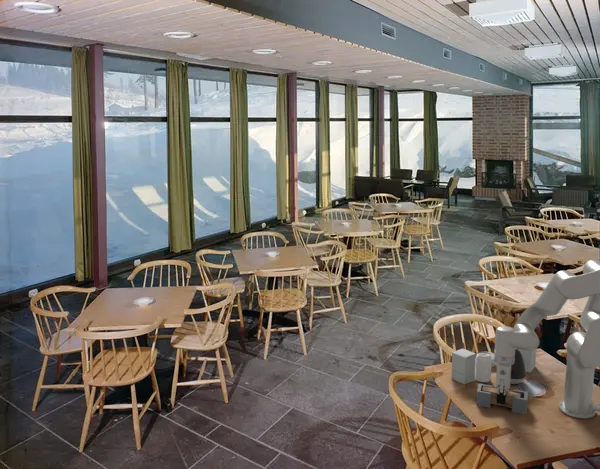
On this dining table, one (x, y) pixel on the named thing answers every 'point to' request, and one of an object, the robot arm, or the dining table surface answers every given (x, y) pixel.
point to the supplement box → (463, 366)
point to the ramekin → (492, 359)
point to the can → (483, 367)
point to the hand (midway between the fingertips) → (501, 400)
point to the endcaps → (517, 405)
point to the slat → (508, 394)
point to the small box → (529, 359)
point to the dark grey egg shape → (518, 368)
